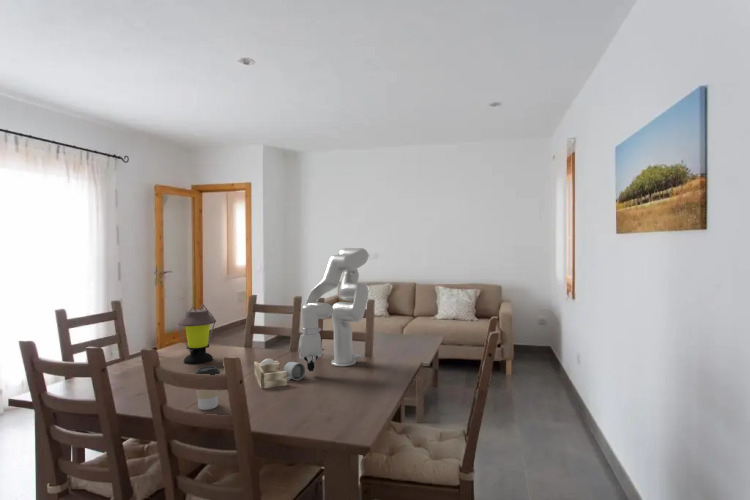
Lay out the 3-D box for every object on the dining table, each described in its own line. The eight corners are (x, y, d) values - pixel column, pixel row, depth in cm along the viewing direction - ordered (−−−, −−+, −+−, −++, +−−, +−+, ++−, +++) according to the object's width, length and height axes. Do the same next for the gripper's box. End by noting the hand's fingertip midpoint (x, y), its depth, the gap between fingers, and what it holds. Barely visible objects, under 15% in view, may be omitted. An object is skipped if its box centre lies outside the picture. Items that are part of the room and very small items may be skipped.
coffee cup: (191, 406, 170) (190, 367, 170) (214, 400, 176) (213, 363, 176) (201, 412, 164) (200, 372, 164) (224, 406, 170) (223, 367, 170)
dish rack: (278, 373, 213) (277, 358, 212) (286, 385, 194) (286, 369, 194) (254, 376, 208) (254, 361, 208) (261, 388, 190) (261, 372, 190)
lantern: (212, 353, 255) (211, 301, 255) (228, 358, 242) (227, 304, 241) (168, 362, 237) (166, 306, 237) (183, 368, 224) (181, 309, 223)
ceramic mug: (295, 374, 210) (295, 358, 209) (306, 378, 204) (305, 361, 204) (276, 380, 202) (275, 363, 202) (286, 384, 196) (285, 367, 196)
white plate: (276, 374, 210) (276, 357, 210) (277, 375, 209) (276, 358, 209) (259, 376, 207) (259, 359, 207) (259, 377, 206) (259, 360, 206)
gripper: (323, 328, 213) (323, 366, 213) (292, 331, 207) (293, 370, 207) (328, 331, 206) (328, 370, 206) (296, 334, 200) (297, 374, 200)
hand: (310, 370), depth 207 cm, fingers closed
